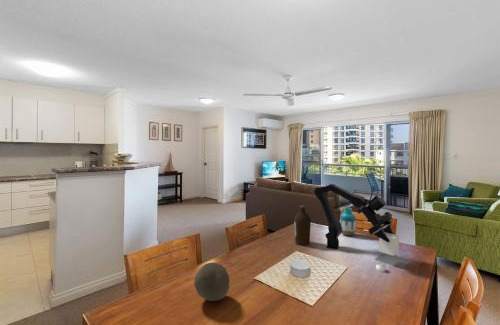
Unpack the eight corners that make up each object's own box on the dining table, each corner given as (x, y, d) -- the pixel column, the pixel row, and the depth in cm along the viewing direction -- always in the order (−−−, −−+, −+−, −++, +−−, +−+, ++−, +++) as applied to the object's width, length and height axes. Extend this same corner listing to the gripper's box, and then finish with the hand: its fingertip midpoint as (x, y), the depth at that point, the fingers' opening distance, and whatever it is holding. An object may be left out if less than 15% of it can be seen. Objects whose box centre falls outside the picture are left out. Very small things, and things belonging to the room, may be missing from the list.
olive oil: (311, 241, 168) (311, 204, 166) (309, 247, 158) (309, 208, 156) (295, 239, 171) (295, 203, 170) (292, 244, 161) (293, 206, 160)
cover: (379, 251, 134) (379, 235, 134) (384, 247, 139) (384, 232, 138) (393, 255, 129) (394, 238, 128) (398, 252, 133) (399, 235, 133)
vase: (352, 232, 184) (353, 207, 183) (357, 237, 174) (358, 210, 173) (338, 232, 185) (338, 206, 184) (342, 237, 175) (342, 210, 174)
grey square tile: (374, 259, 139) (374, 259, 139) (384, 253, 148) (384, 252, 148) (401, 269, 128) (401, 268, 128) (411, 261, 137) (411, 260, 137)
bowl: (376, 271, 126) (376, 266, 126) (376, 268, 129) (376, 263, 129) (385, 273, 124) (385, 268, 124) (384, 269, 127) (385, 265, 127)
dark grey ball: (213, 286, 113) (213, 254, 112) (236, 298, 104) (236, 263, 103) (188, 301, 102) (187, 265, 101) (211, 315, 93) (210, 277, 92)
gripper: (375, 210, 129) (397, 236, 122) (389, 205, 141) (410, 228, 134) (359, 221, 136) (380, 247, 128) (374, 215, 148) (394, 239, 140)
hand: (391, 240), depth 132 cm, fingers closed on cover, 7 cm apart
